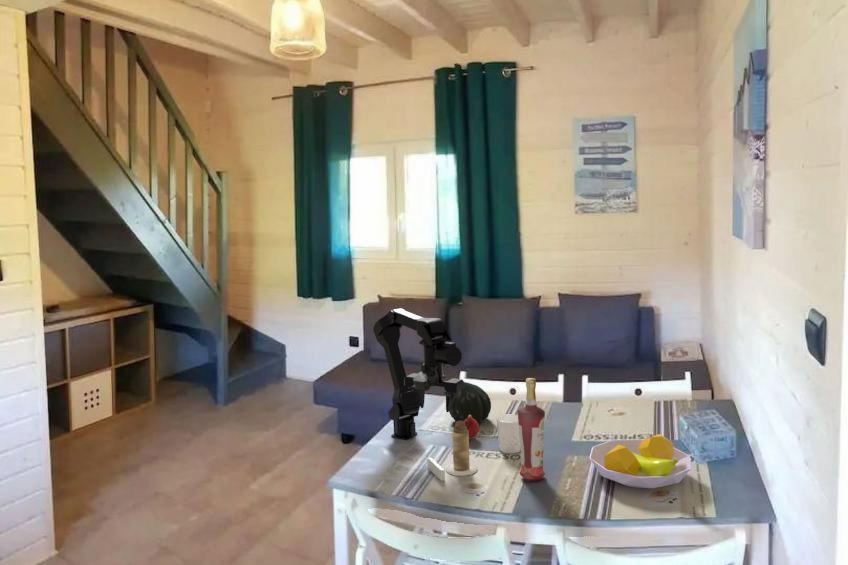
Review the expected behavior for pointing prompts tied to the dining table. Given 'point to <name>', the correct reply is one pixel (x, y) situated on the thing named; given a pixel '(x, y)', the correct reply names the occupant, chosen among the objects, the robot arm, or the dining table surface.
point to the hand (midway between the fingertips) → (434, 409)
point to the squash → (471, 404)
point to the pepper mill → (460, 447)
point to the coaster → (461, 473)
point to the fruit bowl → (641, 462)
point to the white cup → (508, 433)
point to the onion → (471, 426)
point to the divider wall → (436, 469)
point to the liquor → (531, 435)
